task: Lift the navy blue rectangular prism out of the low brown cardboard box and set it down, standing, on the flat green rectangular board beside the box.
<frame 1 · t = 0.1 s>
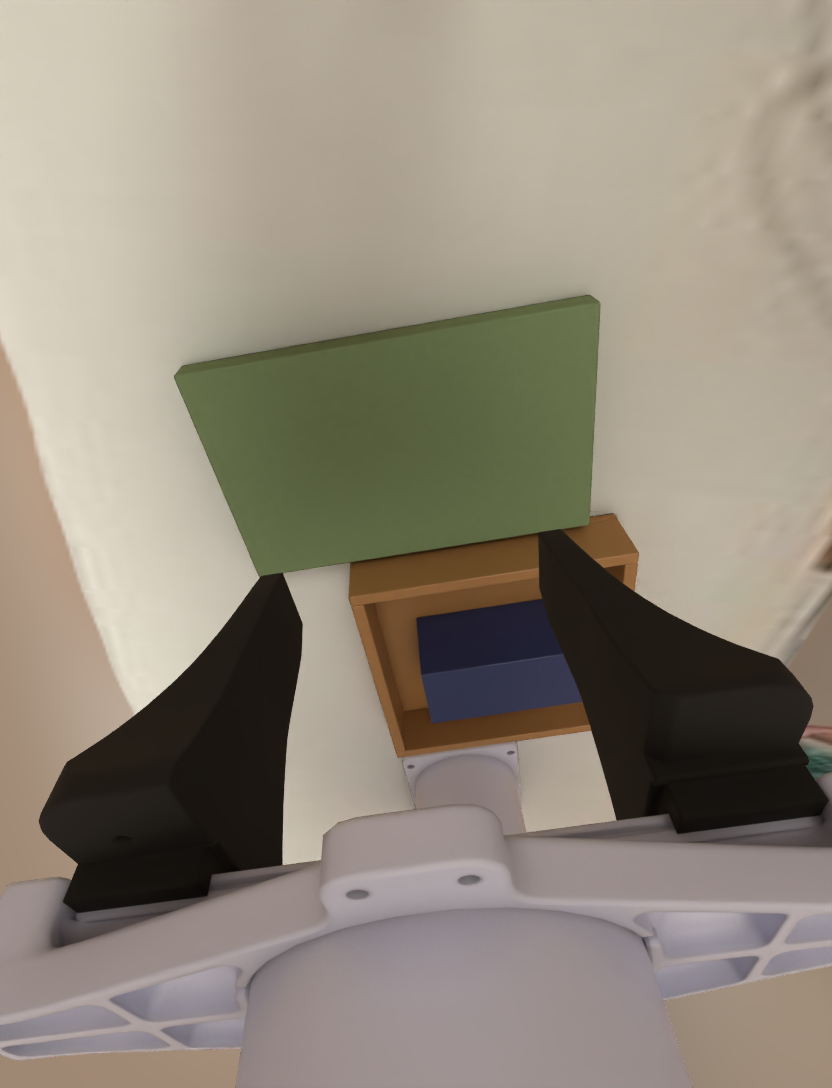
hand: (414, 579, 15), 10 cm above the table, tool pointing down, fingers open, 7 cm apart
flat green rectangular board: (403, 446, 24), on the table
navy blue rectangular prism: (491, 631, 31), resting on open box
open box: (490, 626, 31), on the table
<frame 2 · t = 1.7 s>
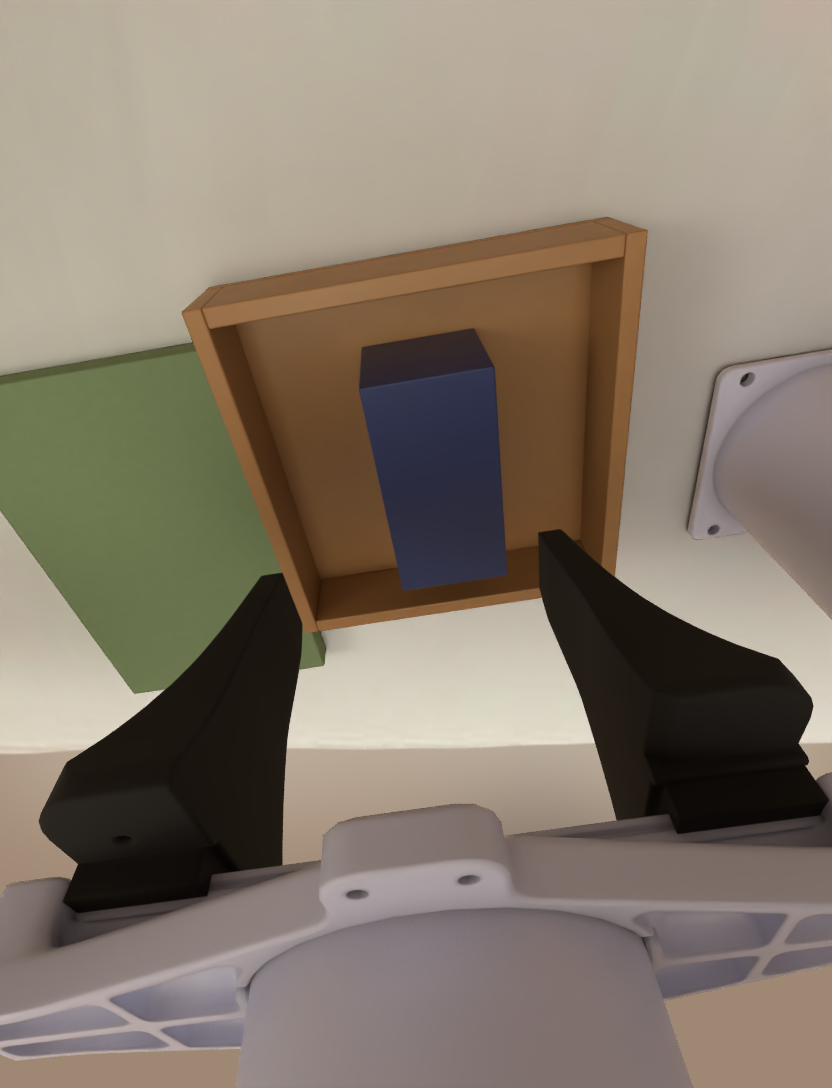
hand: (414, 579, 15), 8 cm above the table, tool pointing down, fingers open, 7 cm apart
flat green rectangular board: (170, 542, 24), on the table
navy blue rectangular prism: (432, 440, 21), resting on open box
open box: (431, 436, 22), on the table
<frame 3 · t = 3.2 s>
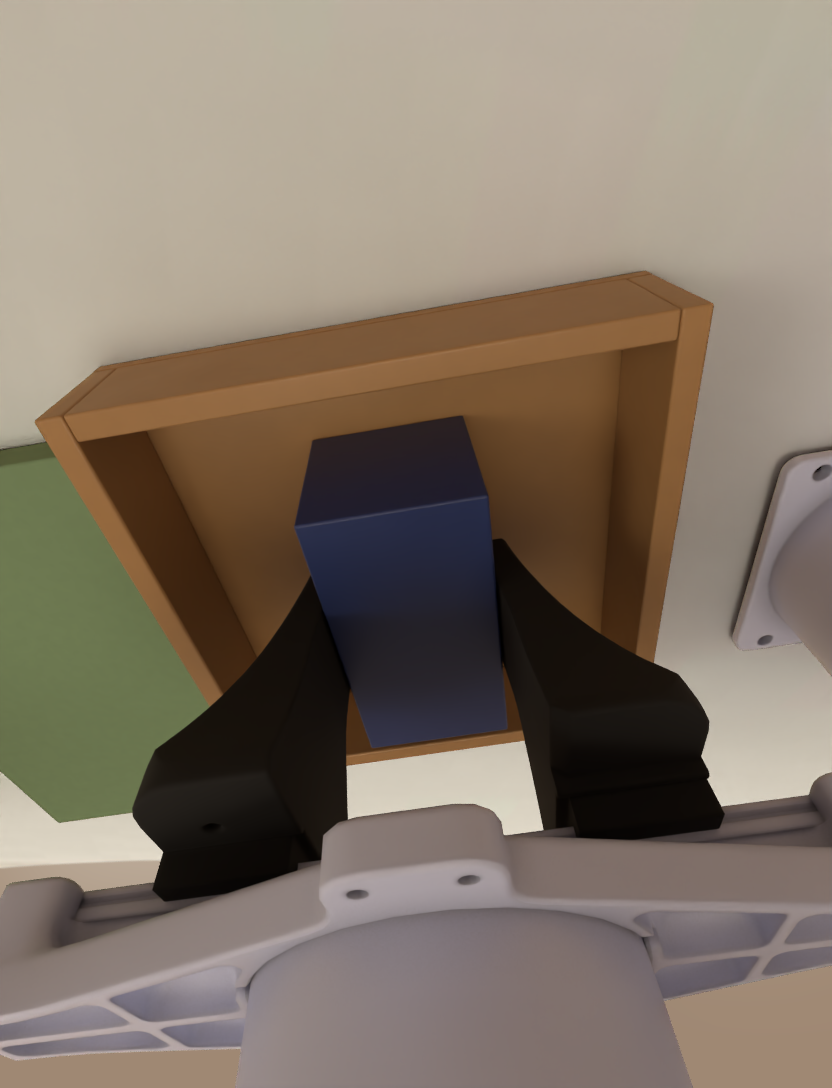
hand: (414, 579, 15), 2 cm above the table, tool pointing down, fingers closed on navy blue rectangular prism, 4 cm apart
flat green rectangular board: (86, 660, 19), on the table
navy blue rectangular prism: (410, 547, 16), resting on open box, touching gripper
open box: (410, 540, 17), on the table
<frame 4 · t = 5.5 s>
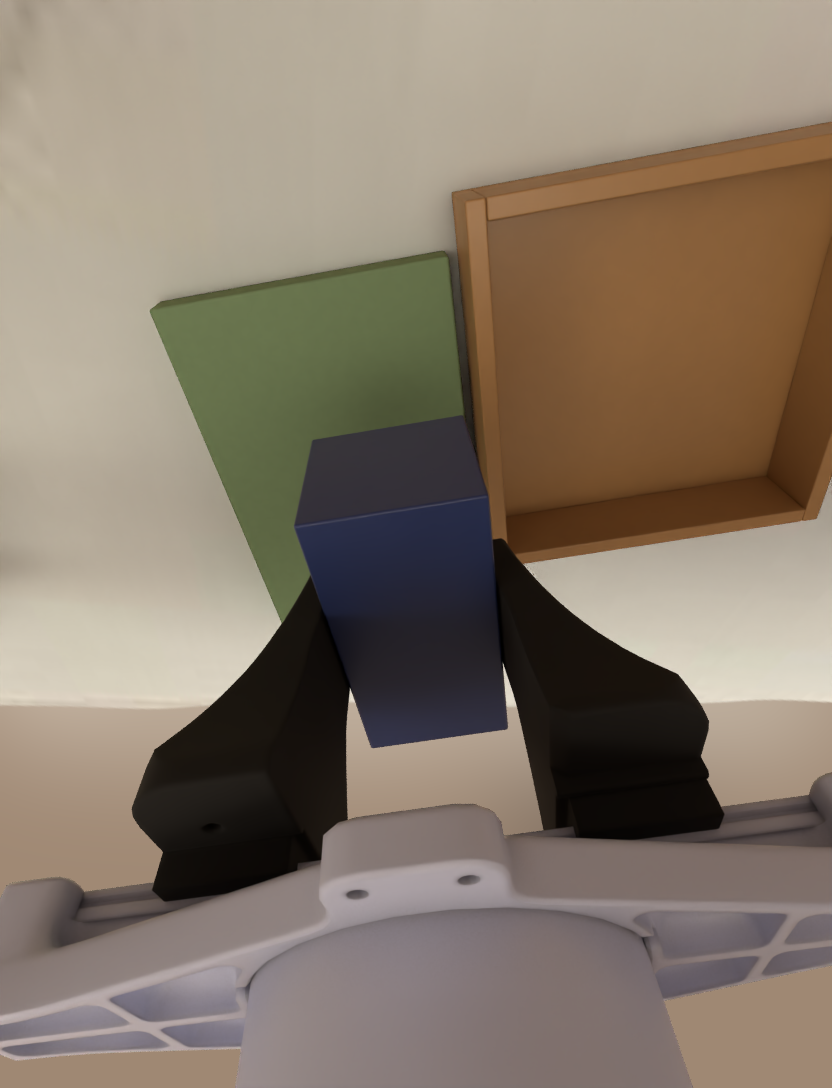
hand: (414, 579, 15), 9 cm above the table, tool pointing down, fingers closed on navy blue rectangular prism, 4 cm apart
flat green rectangular board: (352, 477, 23), on the table
navy blue rectangular prism: (410, 547, 16), point 7 cm above the table, touching gripper
open box: (639, 360, 21), on the table
when the fingers open (3 cm above the table, at t = 7.6 s): navy blue rectangular prism stays where it is, resting on flat green rectangular board.
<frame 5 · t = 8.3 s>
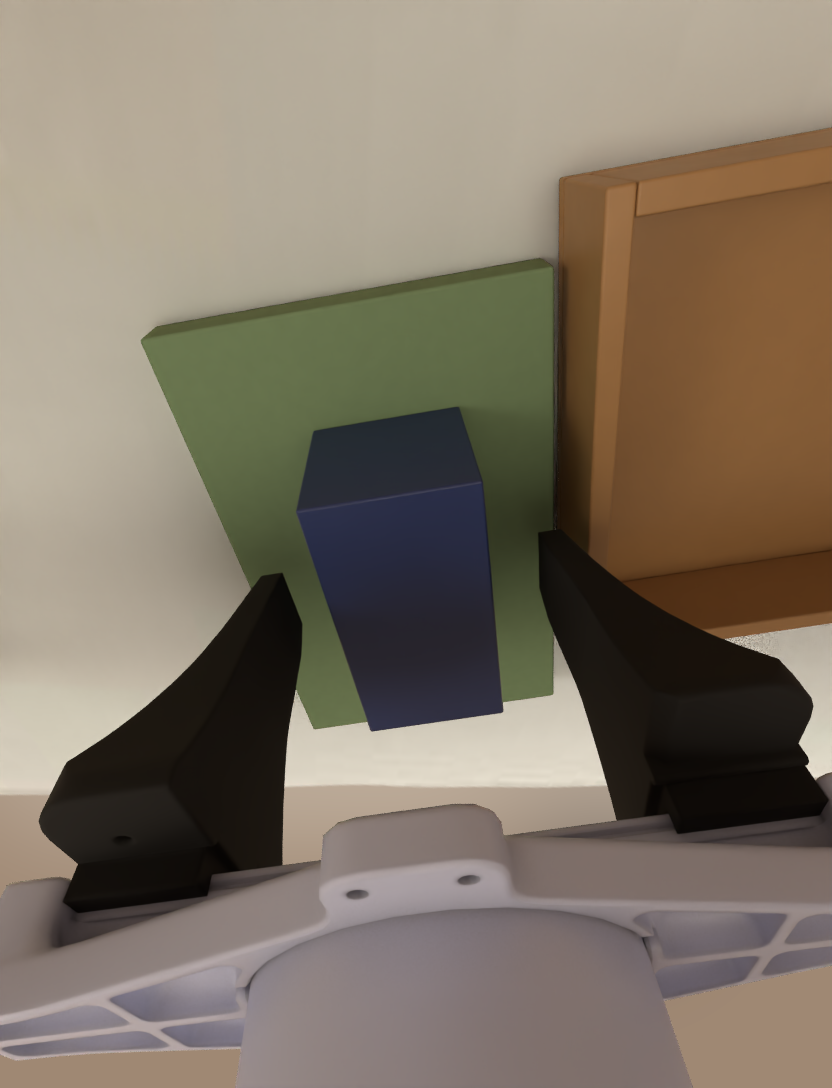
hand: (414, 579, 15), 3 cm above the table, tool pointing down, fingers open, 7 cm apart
flat green rectangular board: (398, 542, 19), on the table
navy blue rectangular prism: (408, 536, 17), point 1 cm above the table, touching flat green rectangular board
open box: (777, 400, 16), on the table
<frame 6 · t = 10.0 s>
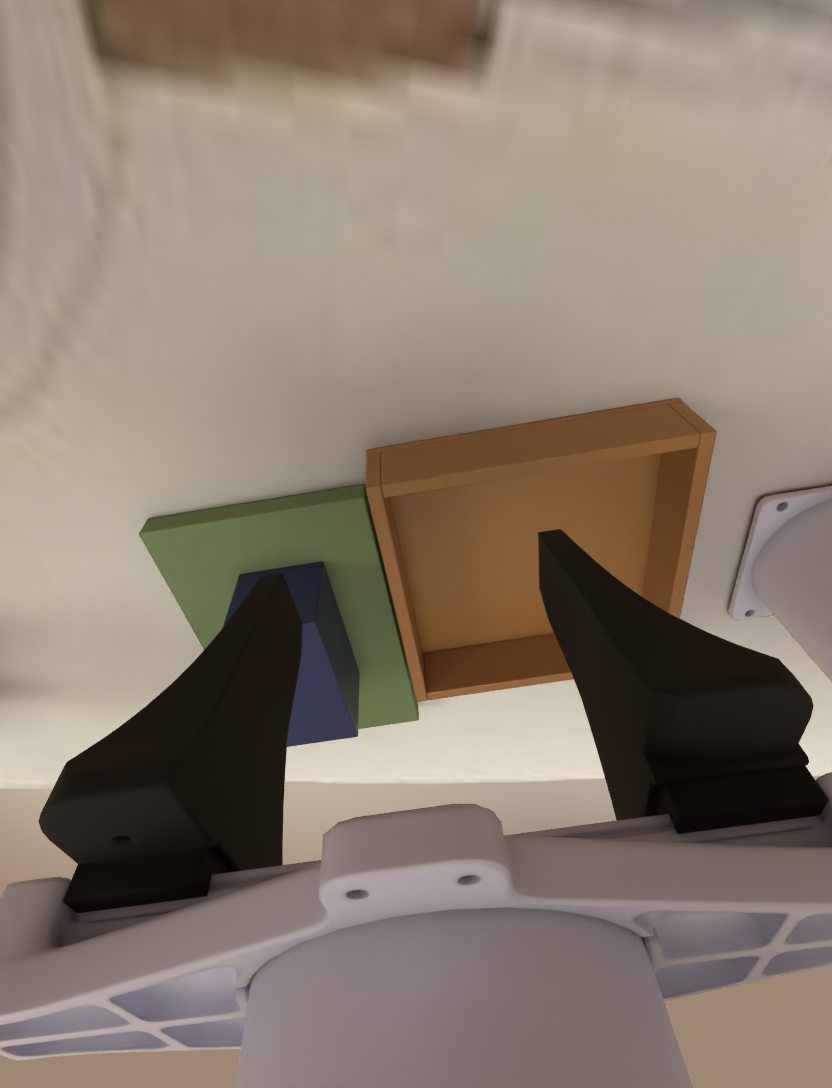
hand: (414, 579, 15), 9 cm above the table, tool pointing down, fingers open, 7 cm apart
flat green rectangular board: (303, 625, 29), on the table
navy blue rectangular prism: (304, 627, 27), point 1 cm above the table, touching flat green rectangular board
open box: (525, 547, 27), on the table
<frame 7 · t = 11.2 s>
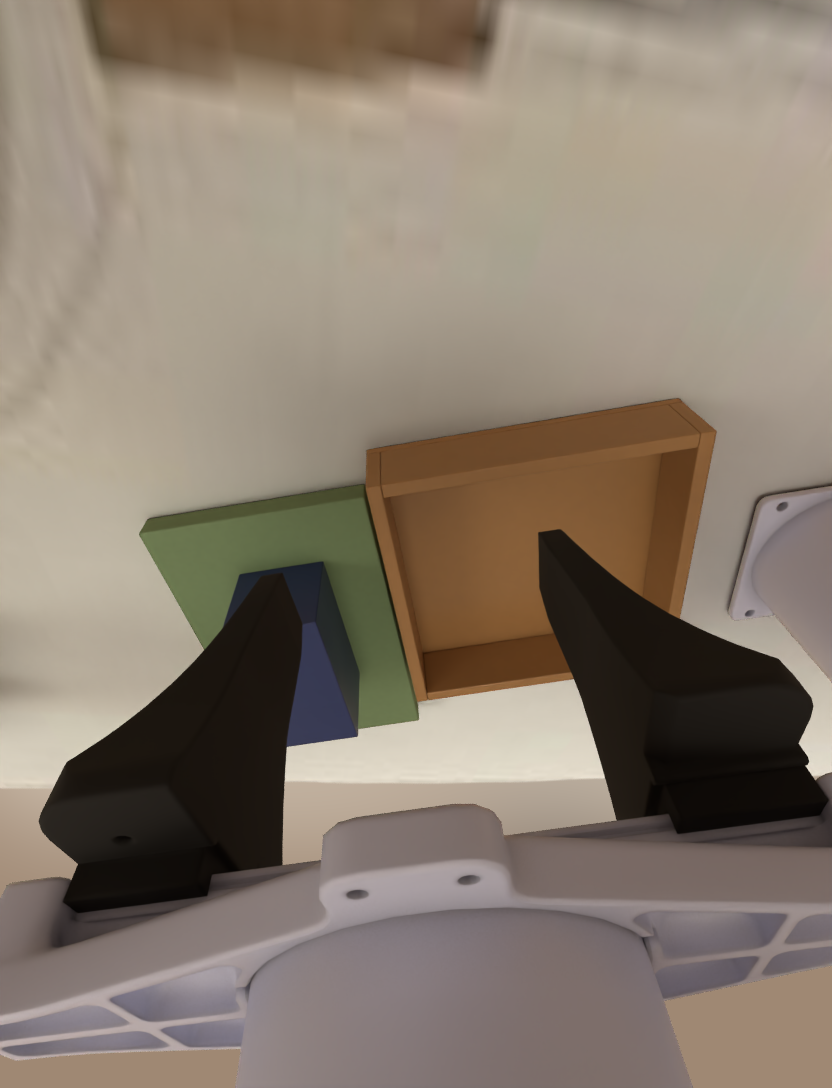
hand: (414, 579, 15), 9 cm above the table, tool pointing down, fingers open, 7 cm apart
flat green rectangular board: (303, 625, 29), on the table
navy blue rectangular prism: (304, 627, 27), point 1 cm above the table, touching flat green rectangular board
open box: (525, 547, 27), on the table
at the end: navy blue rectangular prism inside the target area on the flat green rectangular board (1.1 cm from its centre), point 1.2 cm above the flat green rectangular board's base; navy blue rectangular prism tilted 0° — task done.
